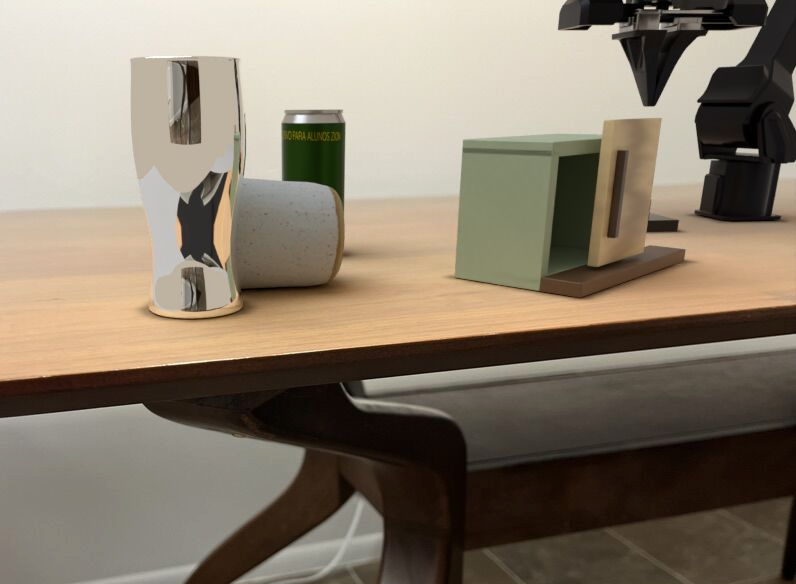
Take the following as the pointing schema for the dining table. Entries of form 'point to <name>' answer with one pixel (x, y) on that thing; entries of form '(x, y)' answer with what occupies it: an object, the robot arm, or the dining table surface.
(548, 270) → the cabinet
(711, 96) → the robot arm
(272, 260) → the ceramic mug
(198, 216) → the beer glass
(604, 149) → the door
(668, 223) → the block
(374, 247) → the dining table surface
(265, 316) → the dining table surface
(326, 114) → the beer can
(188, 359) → the dining table surface
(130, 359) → the dining table surface
